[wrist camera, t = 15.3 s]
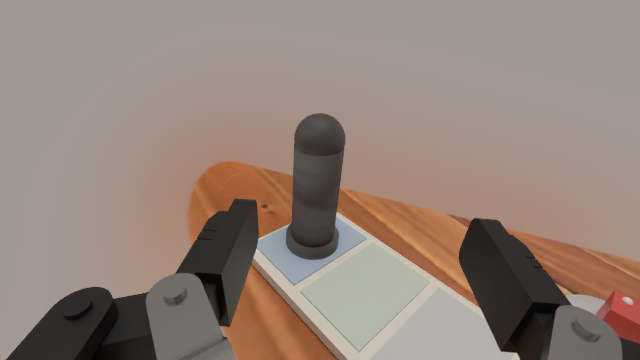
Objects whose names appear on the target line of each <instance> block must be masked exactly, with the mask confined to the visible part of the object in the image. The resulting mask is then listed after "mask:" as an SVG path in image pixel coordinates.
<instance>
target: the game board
mask: <svg viewBox="0 0 640 360" xmlns="http://www.w3.org/2000/svg"><path fill="white" fill-rule="evenodd" d="M290 224H291V223H290ZM290 224H288V225H286V226H284V227H282V228H280V229H278V230H276V231H274V232H271V233H269V234H267V235H265V236H263V237H261V238H259V239H258V244H257V248H256V251H255V254H254V257H253V260H252V263H251V264H252V265H253V266H254V267H255V268H256V269H257V270H258V271H259V272H260V273H261V275H262V276H263V277H264V278H265V279H266V280H267V281H268V282H269V283H270V284H271V286H272V287H273V288H274V289H275V290H276V291H277V292H278V293H279V294H280V296H281V297H282V298H283V299H284V300H285V301H286V302H287V303H288V304H289V305H290V307H291V308H292V309H293V310H294V311H295V312H296V313H297V314H298V315H299V317H300V318H301V319H302V320H303V321H304V322H305V323H306V324H307V325H308V326H309V328H310V329H311V330H312V331H313V332H314V333H315V334H316V335H317V336H318V338H319V339H320V340H321V341H322V342H323V343H324V344H325V345H326V346H327V347H328V349H329V350H330V351H331V352H332V353H333V354H334V355H335V356H336V357H337V359H338V360H519V359H520V358H519V356H518V354H517V353H511V352H501V351H500V349H499V347H498V345H497V343H496V340H495V338H494V336H493V334H492V332H491V330H490V328H489V326H488V323H487V321H486V319H485V317H484V315H483V313H482V311H481V309H480V308H479V307H477V306H476V305H474V304H473V303H471V302H470V301H468V300H467V299H465V298H464V297H462V296H461V295H459V294H458V293H456V292H455V291H454V290H452V289H451V288H449V287H448V286H446V285H445V284H443V283H442V282H440V281H439V280H437V279H436V278H434V277H433V276H431V275H430V274H428V273H427V272H425V271H424V270H422V269H421V268H419V267H418V266H416V265H415V264H414V263H412V262H411V261H409V260H408V259H406V258H405V257H403V256H402V255H400V254H399V253H397V252H396V251H394V250H393V249H391V248H390V247H388V246H387V245H385V244H384V243H382V242H381V241H379V240H378V239H376V238H375V237H373V236H372V235H371V234H369V233H368V232H366V231H365V230H363V229H362V228H360V227H359V226H357V225H356V224H354V223H353V222H351V221H350V220H348V219H347V218H345V217H344V216H342V215H341V214H339V213H338V212H337V213H336V221H335V226H336V228H337V229H338V232H339V240H338V247H337V249H336V251H335V252H334V253H333V254H332V255H330V256H328V257H326V258H323V259H319V260H308V259H303V258H300V257H298V256H296V255H295V254H293V253H292V252H291V251H290V250H289V249H288V247H287V244H286V231H287V228H288V226H289V225H290Z"/></svg>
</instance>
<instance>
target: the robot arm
mask: <svg viewBox="0 0 640 360" xmlns="http://www.w3.org/2000/svg"><path fill="white" fill-rule="evenodd" d="M258 235H259V231H258V215H257V202H256V200H248V199H234V201H233V203H232V205H231V206H230V208H229V210H228V211H219V212H217V213H216V214H215V215H213V216H212V217H211V218H209V219H208V221H207V223H206V224H205V226H204V227H203V229H202V231H201V232H200V234H199V236H198V237H197V240H196V241H195V242H194V244H193V245H192V247H191V249H190V250H189V252H188V254H187V255H186V257H185V259H184V260H183V262H182V263H181V265H180V267H179V268H178V270H177V272H176V273H175V274H173V275H170V276H168V277H165V278H163V279H162V280H160V281H159V282H157V283H156V284H155V285H154V286H153V287H152V288H151V289H150V291H149V292H147V293H143V294H138V295H133V296H127V297H122V298H116V299H113V298H112V295H111V293H110V292H109V291H108V290H106V289H104V288H100V287H91V288H85V289H82V290H79V291H76V292H74V293H71V294H70V295H68V296H66V297H64V298H63V299H61V300H60V301H59V302H57V304H55V305H54V306H53V307H52V308H51V309H50V310H49V311H48V312H47V314H46V315H45V316H44V317H43V318H42V319H41V320H40V321H39V323H38V324H37V325H36V326H35V327H34V328H33V330H32V331H31V332H30V333H29V334H28V335H27V336H26V337H25V339H24V340H23V341H22V342H21V343H20V344H19V345H18V347H17V348H16V349H15V350H14V351H13V352H12V353H11V355H10V356H9V357H8V358H7V359H6V360H237V359H236V356H235V354H234V352H233V349H232V347H231V344H230V342H229V340H228V339H227V337H224V336H223V334H222V331H221V329H220V326H227V327H230V325H231V322H232V319H233V316H234V313H235V310H236V307H237V304H238V301H239V298H240V295H241V292H242V289H243V286H244V284H245V281H246V278H247V275H248V272H249V269H250V266H251V263H252V260H253V257H254V254H255V251H256V248H257V244H258ZM459 262H460V265H461V268H462V270H463V272H464V274H465V276H466V278H467V281H468V283H469V285H470V287H471V289H472V291H473V293H474V296H475V298H476V300H477V302H478V304H479V306H480V308H481V311H482V313H483V315H484V317H485V319H486V321H487V323H488V326H489V328H490V330H491V332H492V334H493V336H494V338H495V340H496V343H497V345H498V347H499V349H500V351H501V352H511V353H517V354H518V356H519V358H520V360H640V344H639V343H636V342H633V341H630V340H627V339H624V338H621V337H618V335H617V334H616V333H615V331H614V330H613V329H612V328H611V327H610V326H609V325H608V324H607V323H606V322H605V321H603V320H602V319H601V318H599V317H598V316H596V315H595V314H593V313H591V312H589V311H587V310H585V309H582V308H579V307H576V306H573V305H572V304H571V303H570V302H569V300H568V299H567V298H566V296H565V295H564V294H563V293H562V291H561V290H560V289H559V287H558V286H557V285H556V284H555V282H554V281H553V280H552V278H551V277H550V276H549V275H548V273H547V272H546V271H545V270H543V269H542V266H541V264H540V263H539V262H538V261H537V260H535V257H534V255H533V254H532V253H531V252H530V250H529V249H528V248H527V246H526V245H524V244H523V243H522V242H521V241H519V240H518V239H517V238H515V237H514V236H513V235H509V234H508V232H507V231H506V230H505V228H504V227H503V226H502V224H501V223H500V222H499V221H498V220H491V219H479V218H475V219H473V220H472V221H471V223H470V225H469V228H468V230H467V233H466V235H465V238H464V240H463V243H462V245H461V248H460V251H459Z"/></svg>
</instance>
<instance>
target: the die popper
mask: <svg viewBox="0 0 640 360" xmlns="http://www.w3.org/2000/svg"><path fill="white" fill-rule="evenodd" d="M566 298H567V299H568V300H569V302H570V303H571V304H572V305H573V306H576V307H579V308H582V309H585V310H587V311H589V312H591V313H593V314H595V315H596V316H598V317H599V318H601V319H602V320H603V321H605V322H606V323H607V324H608V325H609V326H610V327H611V328H612V329H613V330H614V331H615V333H616V334H617V335H618V337H621V338H624V339H627V340H630V341H633V342H636V343H639V344H640V301H638V300H636V299H634V298H632V297H630V296H628V295H626V294H624V293H622V292H620V291H618V290H615V291H614V292H613V293H612V295H611V296H610V297H609V298H608V299H607V301H605V300H602V299H599V298H596V297H592V296H587V295H578V294H575V295H568V296H566Z"/></svg>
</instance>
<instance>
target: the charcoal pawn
mask: <svg viewBox="0 0 640 360" xmlns="http://www.w3.org/2000/svg"><path fill="white" fill-rule="evenodd" d="M294 141H295V143H294V169H293V170H294V171H293V203H292V223H291V224H290V225H289V226H288V228H287V231H286V244H287V247H288V249H289V250H290V251H291V252H292V253H293V254H295V255H296V256H298V257H300V258H303V259H308V260H319V259H323V258H326V257H328V256H330V255H332V254H333V253H334V252H335V251H336V249H337V247H338V240H339V232H338V229H337V228H336V226H335V221H336V213H337V205H338V196H339V188H340V180H341V171H342V163H343V155H344V145H345V133H344V130H343V127H342V126H341V124H340V123H339V122H338V121H337V120H336V119H335V118H334V117H332V116H329V115H327V114H321V113H318V114H313V115H310V116H308V117H307V118H305V119H303V120H302V121H301V122H300V124H299V125H298V127H297V129H296V132H295V138H294Z"/></svg>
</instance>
